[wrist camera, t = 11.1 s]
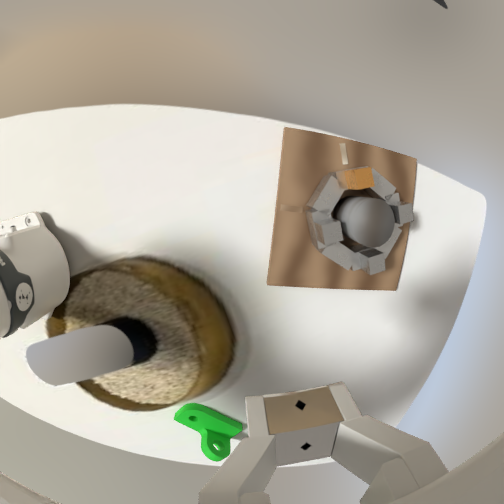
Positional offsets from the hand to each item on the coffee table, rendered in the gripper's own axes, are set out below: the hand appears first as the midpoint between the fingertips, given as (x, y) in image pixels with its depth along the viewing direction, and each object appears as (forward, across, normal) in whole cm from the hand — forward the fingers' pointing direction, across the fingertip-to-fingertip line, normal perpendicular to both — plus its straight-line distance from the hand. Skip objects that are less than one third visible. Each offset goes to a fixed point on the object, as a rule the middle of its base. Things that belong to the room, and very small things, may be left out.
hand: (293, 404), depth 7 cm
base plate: (+31, -15, -1) cm, 35 cm away
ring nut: (+30, -15, -1) cm, 34 cm away
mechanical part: (+32, +10, +36) cm, 49 cm away
